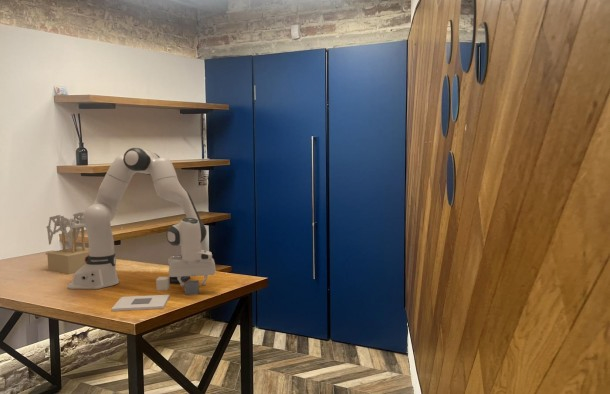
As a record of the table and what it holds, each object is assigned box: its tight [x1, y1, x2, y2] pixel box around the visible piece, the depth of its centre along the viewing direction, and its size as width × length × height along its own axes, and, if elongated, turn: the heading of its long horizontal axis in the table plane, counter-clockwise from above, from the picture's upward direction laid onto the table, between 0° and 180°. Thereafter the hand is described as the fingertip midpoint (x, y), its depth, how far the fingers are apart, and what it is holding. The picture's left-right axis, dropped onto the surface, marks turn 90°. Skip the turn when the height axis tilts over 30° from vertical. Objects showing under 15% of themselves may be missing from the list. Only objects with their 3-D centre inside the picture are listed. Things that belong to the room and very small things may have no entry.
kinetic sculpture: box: [45, 211, 89, 275], centre depth 265 cm, size 25×20×30 cm
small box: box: [169, 276, 191, 284], centre depth 239 cm, size 11×6×10 cm, turn 168°
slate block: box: [184, 279, 200, 296], centre depth 218 cm, size 6×6×5 cm
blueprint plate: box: [111, 294, 171, 312], centre depth 203 cm, size 20×16×1 cm
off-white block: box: [155, 276, 171, 291], centre depth 225 cm, size 5×5×5 cm
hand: (193, 285), depth 218 cm, fingers open, 8 cm apart
